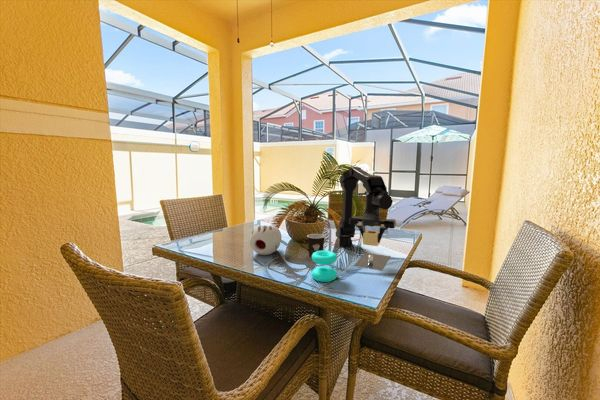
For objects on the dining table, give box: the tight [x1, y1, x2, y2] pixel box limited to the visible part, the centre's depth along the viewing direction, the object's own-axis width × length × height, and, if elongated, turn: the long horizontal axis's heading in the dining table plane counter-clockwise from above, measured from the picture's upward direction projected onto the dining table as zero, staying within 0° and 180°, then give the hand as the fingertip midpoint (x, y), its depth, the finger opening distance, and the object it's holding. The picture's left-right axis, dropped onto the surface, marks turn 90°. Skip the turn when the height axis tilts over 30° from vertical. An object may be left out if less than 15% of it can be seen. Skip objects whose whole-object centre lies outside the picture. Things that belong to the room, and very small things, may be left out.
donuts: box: [311, 250, 338, 283], centre depth 109 cm, size 10×10×10 cm
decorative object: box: [249, 225, 282, 256], centre depth 139 cm, size 15×19×15 cm
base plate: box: [353, 252, 391, 271], centre depth 124 cm, size 20×12×6 cm, turn 153°
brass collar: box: [362, 229, 380, 247], centre depth 118 cm, size 6×6×5 cm
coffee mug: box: [298, 233, 325, 258], centre depth 135 cm, size 12×9×10 cm
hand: (371, 241), depth 119 cm, fingers closed on brass collar, 6 cm apart
